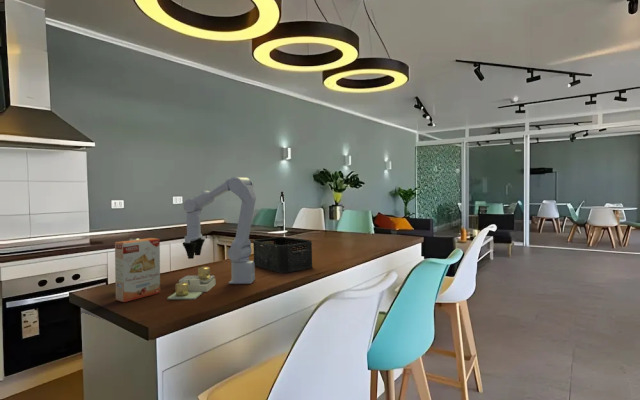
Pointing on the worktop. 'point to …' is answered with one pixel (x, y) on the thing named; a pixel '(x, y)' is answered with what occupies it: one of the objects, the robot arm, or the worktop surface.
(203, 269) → the brass weight
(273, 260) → the storage bin
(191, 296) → the rubber mat
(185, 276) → the scale pan
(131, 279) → the cracker box
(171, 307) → the worktop surface
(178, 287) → the cylinder
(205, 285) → the scale
